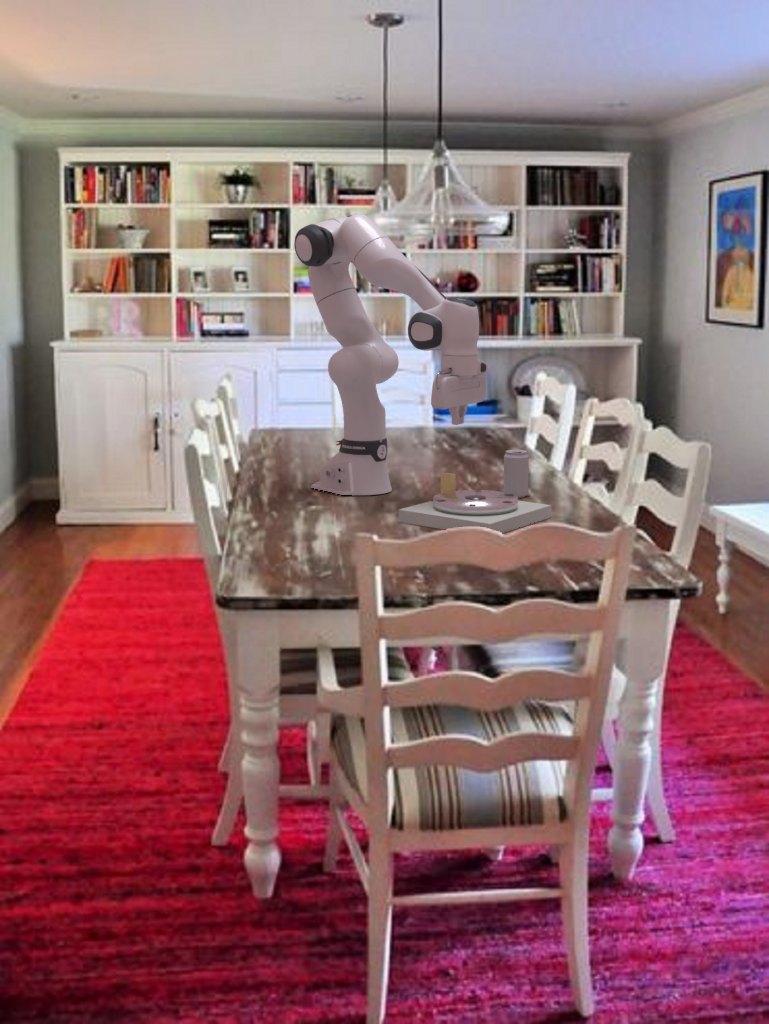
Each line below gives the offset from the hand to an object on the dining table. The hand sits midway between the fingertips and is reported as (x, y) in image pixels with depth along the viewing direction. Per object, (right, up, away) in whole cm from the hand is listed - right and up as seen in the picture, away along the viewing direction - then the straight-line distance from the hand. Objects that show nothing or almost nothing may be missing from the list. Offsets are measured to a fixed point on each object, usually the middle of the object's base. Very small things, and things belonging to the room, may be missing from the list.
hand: (457, 424), depth 292 cm
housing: (+4, -23, -5) cm, 24 cm away
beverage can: (+17, -17, +23) cm, 33 cm away
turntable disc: (+4, -20, -5) cm, 21 cm away
